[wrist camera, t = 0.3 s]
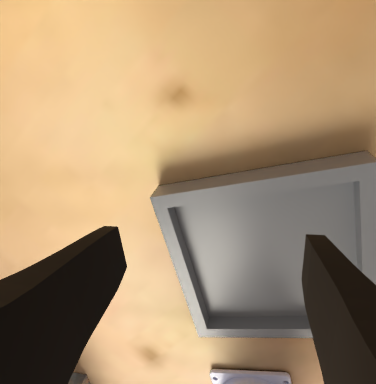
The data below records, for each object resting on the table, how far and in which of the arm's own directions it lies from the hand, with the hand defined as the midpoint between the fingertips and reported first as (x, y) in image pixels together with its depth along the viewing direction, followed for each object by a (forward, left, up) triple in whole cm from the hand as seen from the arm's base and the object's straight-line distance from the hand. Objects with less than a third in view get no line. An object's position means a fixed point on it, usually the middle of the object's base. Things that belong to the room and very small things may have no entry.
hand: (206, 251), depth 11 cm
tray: (-8, -1, -10) cm, 13 cm away
